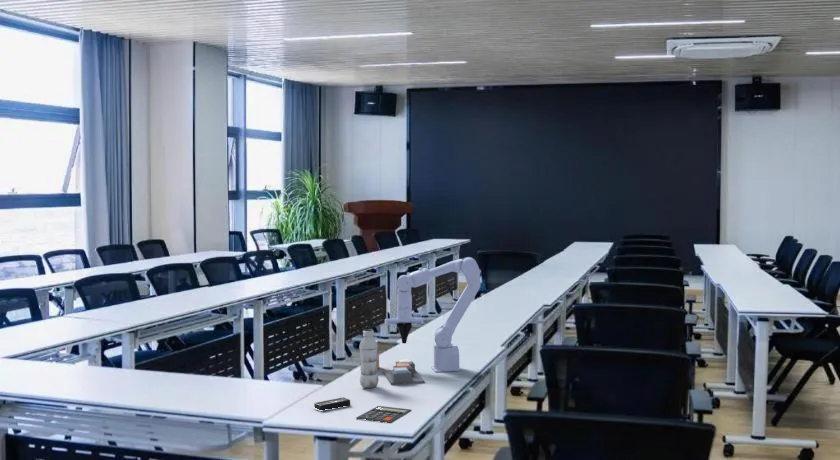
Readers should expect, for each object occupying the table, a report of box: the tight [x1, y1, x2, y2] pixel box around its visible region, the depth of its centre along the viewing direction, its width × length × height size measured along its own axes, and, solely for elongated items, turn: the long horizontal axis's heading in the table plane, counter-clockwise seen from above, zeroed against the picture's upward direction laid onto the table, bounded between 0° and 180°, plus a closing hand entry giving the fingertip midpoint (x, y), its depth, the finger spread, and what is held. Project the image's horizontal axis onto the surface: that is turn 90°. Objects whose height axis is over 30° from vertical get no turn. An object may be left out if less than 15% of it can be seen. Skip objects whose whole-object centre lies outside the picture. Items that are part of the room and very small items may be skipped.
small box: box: [359, 339, 380, 369], centre depth 320 cm, size 8×6×10 cm
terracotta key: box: [395, 363, 410, 369], centre depth 305 cm, size 4×4×2 cm
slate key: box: [394, 367, 408, 374], centre depth 298 cm, size 4×4×2 cm
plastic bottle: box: [358, 329, 379, 389], centre depth 290 cm, size 6×7×20 cm
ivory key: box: [397, 358, 413, 364], centre depth 312 cm, size 4×4×2 cm
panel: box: [382, 361, 426, 386], centre depth 305 cm, size 12×20×4 cm, turn 11°
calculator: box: [355, 405, 412, 424], centre depth 257 cm, size 12×1×15 cm
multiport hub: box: [313, 397, 351, 410], centre depth 266 cm, size 4×11×2 cm, turn 127°
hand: (404, 342), depth 317 cm, fingers closed
